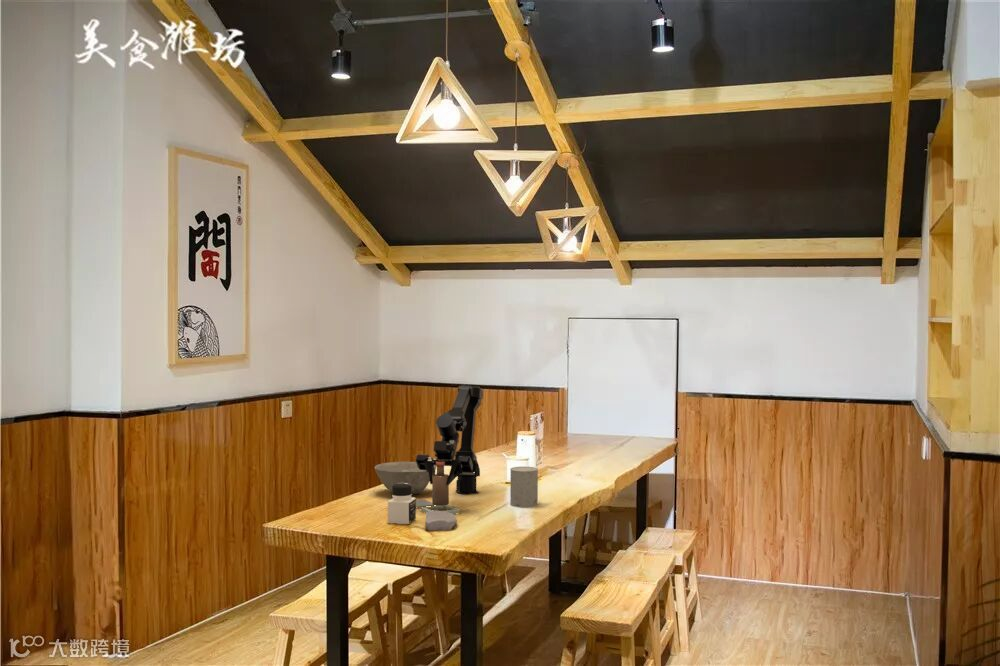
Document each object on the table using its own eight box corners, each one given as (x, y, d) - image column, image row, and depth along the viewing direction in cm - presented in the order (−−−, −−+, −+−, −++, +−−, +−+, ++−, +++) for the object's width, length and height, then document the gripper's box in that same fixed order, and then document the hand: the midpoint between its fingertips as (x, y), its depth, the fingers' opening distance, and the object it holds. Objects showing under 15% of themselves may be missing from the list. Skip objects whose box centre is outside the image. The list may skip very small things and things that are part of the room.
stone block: (454, 527, 284) (423, 522, 283) (457, 513, 284) (426, 507, 283) (455, 538, 272) (423, 532, 272) (458, 523, 272) (426, 517, 271)
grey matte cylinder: (518, 508, 303) (518, 472, 303) (505, 503, 312) (505, 467, 312) (543, 505, 308) (543, 469, 308) (529, 500, 316) (529, 465, 316)
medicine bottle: (409, 524, 280) (409, 486, 279) (387, 523, 281) (387, 485, 281) (416, 519, 287) (416, 482, 286) (394, 518, 288) (394, 481, 288)
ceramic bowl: (421, 501, 314) (421, 473, 314) (363, 497, 322) (362, 469, 322) (446, 490, 335) (446, 463, 335) (391, 485, 343) (391, 459, 343)
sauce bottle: (444, 501, 301) (443, 459, 300) (451, 504, 296) (451, 462, 296) (429, 503, 298) (429, 461, 298) (436, 506, 293) (436, 463, 293)
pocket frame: (446, 508, 304) (446, 504, 304) (460, 513, 296) (460, 509, 295) (421, 511, 299) (421, 507, 299) (434, 516, 291) (434, 513, 291)
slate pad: (423, 500, 316) (423, 499, 316) (436, 505, 307) (436, 504, 307) (397, 503, 311) (397, 502, 310) (410, 509, 302) (410, 507, 302)
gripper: (417, 430, 302) (406, 468, 292) (470, 432, 298) (462, 471, 288) (424, 450, 310) (414, 488, 300) (476, 452, 306) (468, 490, 296)
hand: (439, 484), depth 296 cm, fingers closed on sauce bottle, 5 cm apart
